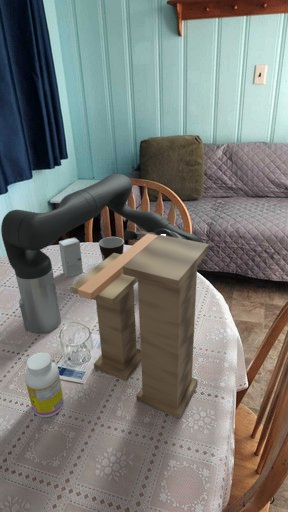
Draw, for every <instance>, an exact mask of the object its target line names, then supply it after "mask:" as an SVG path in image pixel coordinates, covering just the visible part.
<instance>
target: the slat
mask: <svg viewBox="0 0 288 512" xmlns="http://www.w3.org/2000/svg"><path fill="white" fill-rule="evenodd" d="M144 235H145V236H144ZM144 235H143V236H144V237H143V238H141V239H140V240H139V241H138V242H134V244H132V245H131V246H130V247H129V248H128V249H126V250H125V251H123V254H121V255H120V256H119V257H118V258H116V259H115V260H114V261H113V262H111V263H110V264H109V265H108V266H106V267H105V268H104V269H103V270H101V271H100V272H99V273H98V274H96V275H95V276H94V277H93V278H91V279H90V280H89V281H88V282H86V283H85V284H84V285H83V286H81V287H80V288H79V289H78V295H77V296H79V297H80V298H83V299H86V300H87V299H88V300H91V301H93V298H94V297H96V296H97V295H98V294H99V293H100V292H101V291H102V290H103V289H105V288H106V287H107V286H108V285H109V284H110V283H111V282H113V281H114V280H115V279H116V278H117V277H118V276H119V275H121V274H122V273H123V266H124V265H125V264H126V263H128V262H129V261H130V260H131V259H132V258H133V257H135V256H136V255H137V254H138V253H139V252H140V251H142V250H143V249H144V248H145V247H146V246H147V245H149V244H150V243H151V242H152V241H153V240H154V239H156V238H157V237H158V235H153V234H144Z"/></svg>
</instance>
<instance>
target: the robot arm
mask: <svg viewBox="0 0 288 512" xmlns="http://www.w3.org/2000/svg"><path fill="white" fill-rule="evenodd" d="M132 190H133V182H132V180H131V179H130V178H129V177H128V176H127V175H125V174H121V173H112V174H109V175H107V176H106V177H104V178H102V179H101V180H98V181H97V182H96V183H94V184H91V185H89V186H87V187H84V188H82V189H79V190H76V191H74V192H70V193H68V194H67V195H65V196H64V197H63V198H62V199H61V201H60V202H59V204H58V207H57V208H55V209H53V210H50V211H46V212H35V211H34V212H33V211H29V210H23V209H13V210H10V211H8V212H7V213H6V214H5V215H4V217H3V218H2V222H1V226H0V231H1V232H0V233H1V238H2V243H3V246H4V250H5V252H6V256H7V261H8V263H9V265H10V266H11V267H12V269H13V270H14V274H15V277H16V282H17V287H18V291H19V295H20V299H19V301H18V304H19V309H20V314H21V318H22V322H23V326H24V331H28V332H31V333H33V334H46V333H50V332H52V331H54V330H56V329H57V328H58V327H59V326H60V325H61V323H62V318H61V317H62V316H61V312H60V306H59V301H58V295H57V290H56V289H57V288H56V284H55V276H54V269H53V265H52V261H51V260H52V259H51V258H50V256H49V255H47V254H46V253H45V252H43V249H45V248H47V247H49V246H50V245H52V244H53V243H54V242H56V241H57V240H58V239H59V238H61V237H62V236H63V235H64V236H65V235H66V233H68V232H70V231H72V230H74V229H75V228H77V227H79V226H81V225H84V224H86V223H87V222H89V221H91V220H93V219H94V218H96V217H97V216H98V215H99V214H100V213H101V212H102V211H103V210H104V209H105V208H108V209H109V210H111V211H112V212H114V213H115V214H118V215H119V216H121V217H122V218H124V219H126V220H127V221H129V222H132V223H133V224H135V225H136V226H138V227H139V228H141V229H142V230H139V231H135V230H131V229H127V228H126V229H125V230H124V233H123V240H125V241H130V242H134V243H136V242H138V241H139V240H140V239H141V238H143V237H144V236H145V235H146V234H153V235H158V236H159V235H164V236H169V237H175V238H180V239H185V240H190V241H195V242H200V243H203V242H202V240H201V238H200V237H198V235H195V234H192V233H190V232H187V231H185V230H183V229H180V228H179V227H176V226H175V225H174V224H173V223H171V222H170V221H169V220H167V219H166V218H165V217H163V216H162V215H161V214H159V213H157V212H152V211H144V210H136V209H133V208H132V207H130V206H129V205H128V204H127V202H128V200H129V198H130V195H131V194H132ZM143 230H144V231H143Z"/></svg>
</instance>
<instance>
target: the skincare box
mask: <svg viewBox="0 0 288 512" xmlns="http://www.w3.org/2000/svg"><path fill="white" fill-rule="evenodd" d="M80 243H81V242H80V240H78V239H77V238H76V237H71V238H65V239H64V240H60V241H58V245H59V253H60V254H59V255H60V259H61V260H60V261H61V269H62V272H63V274H64V275H65V277H66V278H69V277H73V276H77V275H79V274H82V273H83V272H84V270H83V261H82V252H81V244H80Z"/></svg>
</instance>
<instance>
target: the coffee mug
mask: <svg viewBox="0 0 288 512" xmlns="http://www.w3.org/2000/svg"><path fill="white" fill-rule="evenodd" d="M124 240H125V239H124V238H121V237H117V236H110V237H109V236H108V237H104V238H102V239H100V240H99V241H98V246H99V250H100V255H101V259H102V262H103V261H104V260H105V259H107V258H108V257H109V256H110V255H112V254H113V253H116V254H123V253H124V246H125V241H124Z"/></svg>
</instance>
